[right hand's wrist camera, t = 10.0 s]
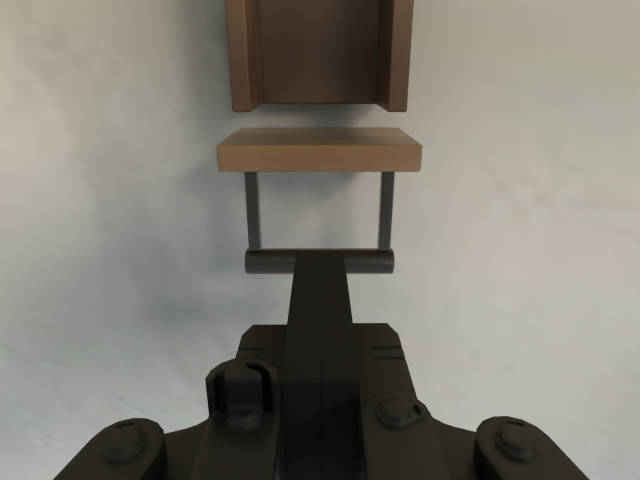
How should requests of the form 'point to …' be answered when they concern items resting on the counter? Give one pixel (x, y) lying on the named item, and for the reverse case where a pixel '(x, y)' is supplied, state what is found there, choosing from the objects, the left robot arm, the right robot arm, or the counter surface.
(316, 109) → the counter surface
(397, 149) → the drawer
